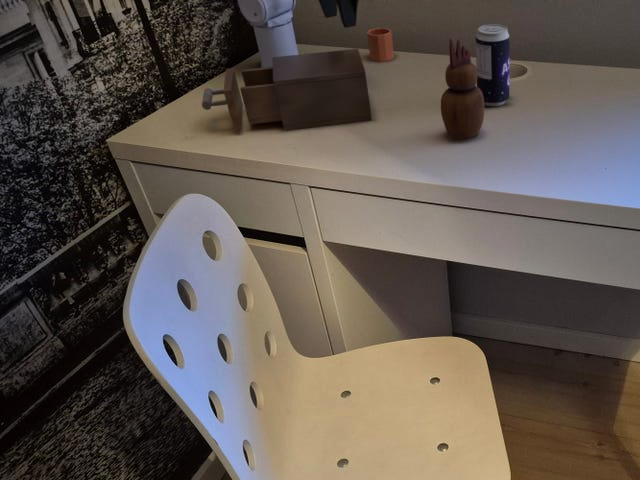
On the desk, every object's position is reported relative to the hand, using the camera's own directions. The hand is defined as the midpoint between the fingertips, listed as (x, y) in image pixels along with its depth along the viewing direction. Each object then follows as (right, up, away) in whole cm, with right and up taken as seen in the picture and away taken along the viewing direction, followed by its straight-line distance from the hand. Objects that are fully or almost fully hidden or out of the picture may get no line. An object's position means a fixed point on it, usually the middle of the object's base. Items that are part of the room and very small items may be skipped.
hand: (340, 21), depth 120 cm
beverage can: (+28, -16, -2) cm, 32 cm away
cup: (+5, +1, +16) cm, 17 cm away
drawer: (-12, -19, -6) cm, 23 cm away
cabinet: (-2, -18, -4) cm, 18 cm away
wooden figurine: (+23, -25, -12) cm, 36 cm away
